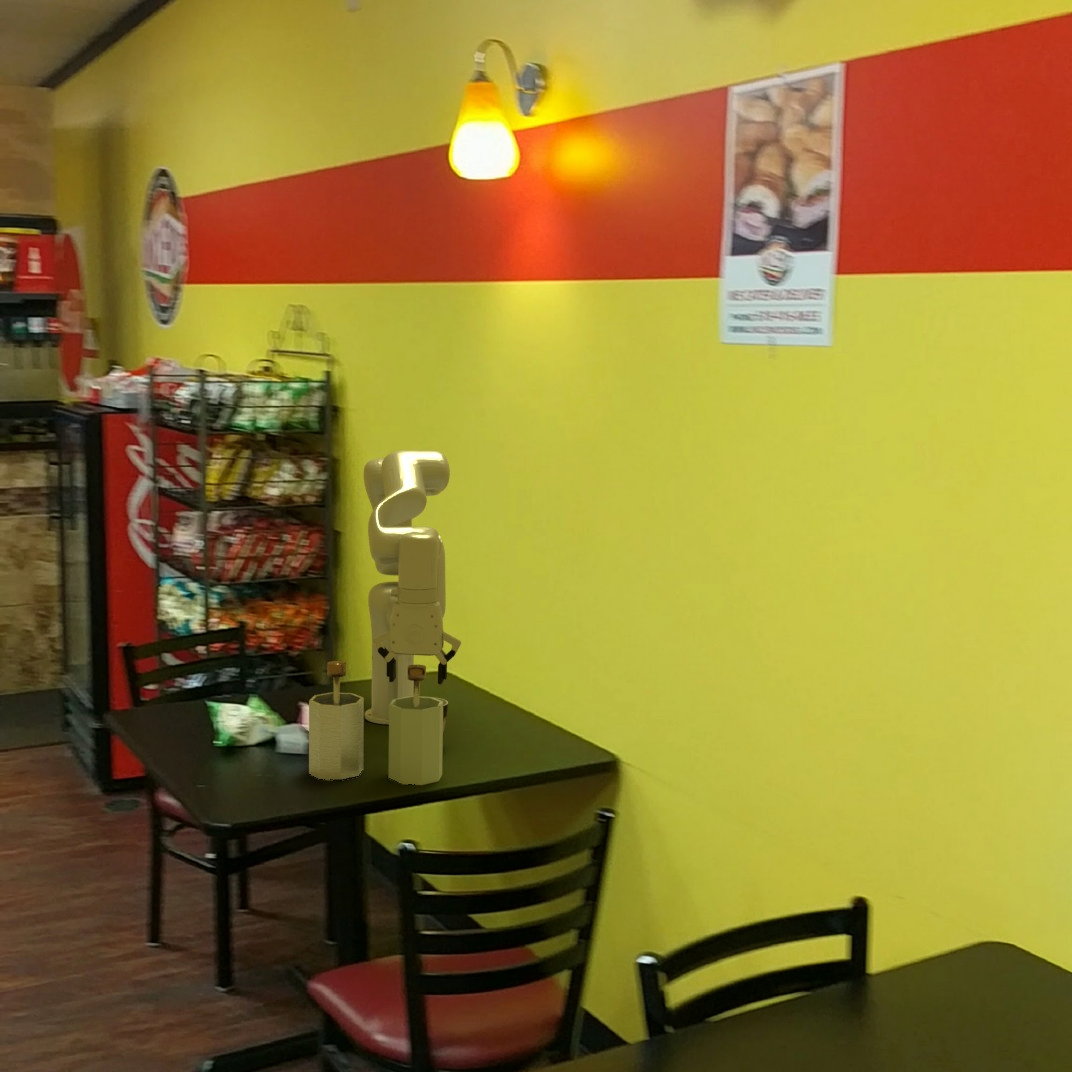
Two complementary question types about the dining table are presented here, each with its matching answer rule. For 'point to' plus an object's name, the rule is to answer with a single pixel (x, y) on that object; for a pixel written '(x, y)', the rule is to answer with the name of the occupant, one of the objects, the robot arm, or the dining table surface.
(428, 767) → the cup
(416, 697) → the sage plunger
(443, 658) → the robot arm
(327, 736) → the beige tall hollow piece
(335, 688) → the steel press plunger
